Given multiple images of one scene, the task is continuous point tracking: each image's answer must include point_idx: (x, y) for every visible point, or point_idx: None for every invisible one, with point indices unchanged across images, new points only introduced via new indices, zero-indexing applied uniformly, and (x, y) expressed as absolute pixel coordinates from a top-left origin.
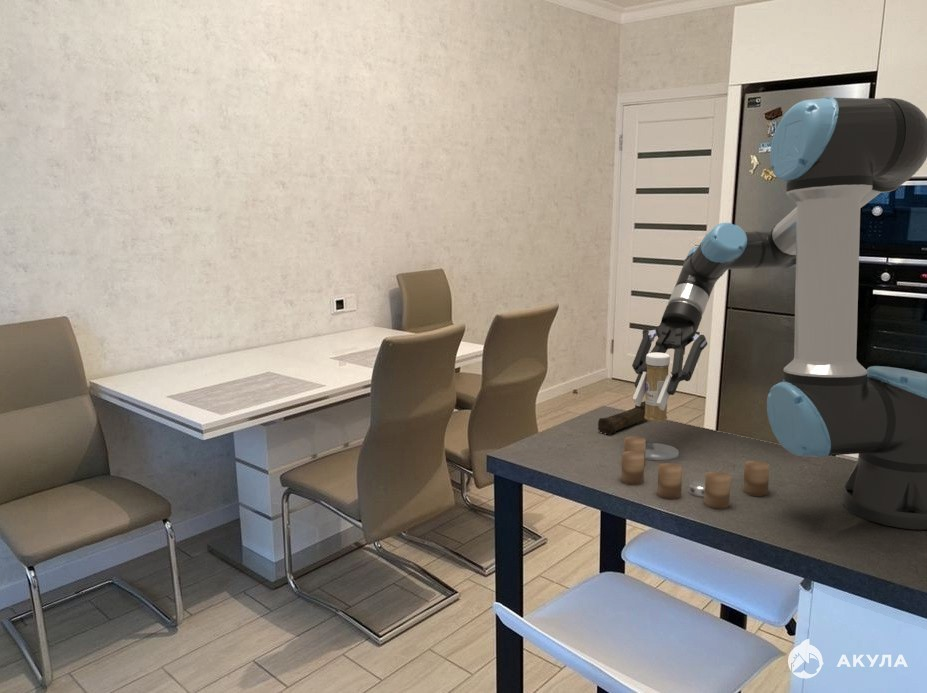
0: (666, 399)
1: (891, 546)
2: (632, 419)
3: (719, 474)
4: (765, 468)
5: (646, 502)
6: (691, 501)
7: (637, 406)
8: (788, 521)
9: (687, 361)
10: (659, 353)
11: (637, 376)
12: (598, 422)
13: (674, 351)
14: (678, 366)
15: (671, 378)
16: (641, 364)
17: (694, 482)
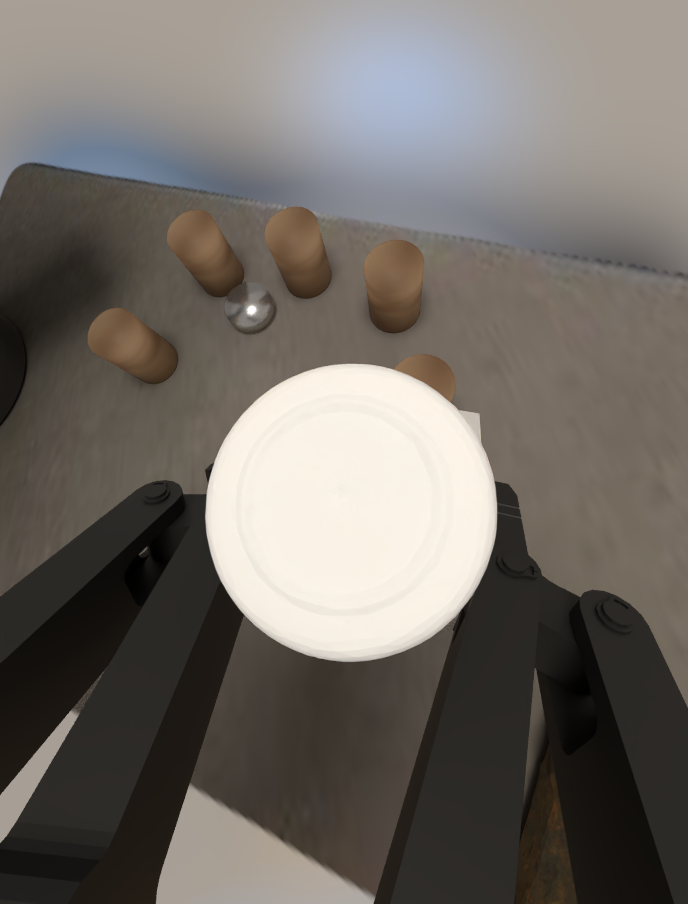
0: None
1: (5, 252)
2: (540, 806)
3: (188, 239)
4: (97, 317)
5: (342, 226)
6: (265, 267)
7: None
8: (118, 265)
9: (75, 575)
10: (332, 576)
11: (523, 535)
12: None
13: (142, 760)
14: (182, 541)
15: None
16: (575, 744)
17: (259, 310)
